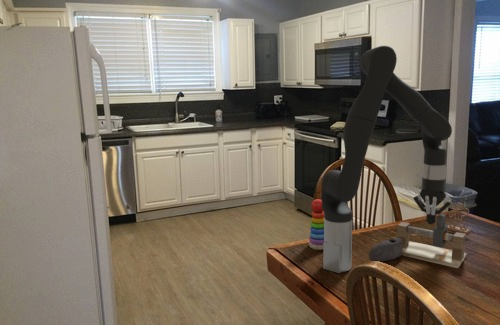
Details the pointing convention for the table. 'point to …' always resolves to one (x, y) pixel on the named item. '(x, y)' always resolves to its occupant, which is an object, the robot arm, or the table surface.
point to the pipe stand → (432, 252)
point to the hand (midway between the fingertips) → (430, 223)
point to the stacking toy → (317, 226)
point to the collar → (440, 231)
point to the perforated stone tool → (386, 250)
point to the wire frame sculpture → (460, 228)
